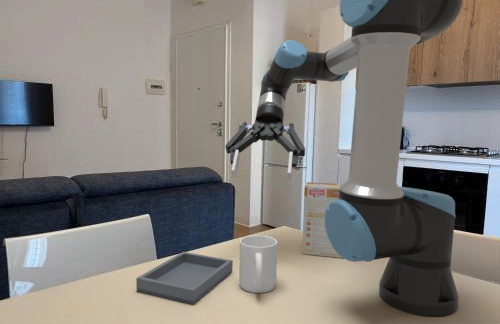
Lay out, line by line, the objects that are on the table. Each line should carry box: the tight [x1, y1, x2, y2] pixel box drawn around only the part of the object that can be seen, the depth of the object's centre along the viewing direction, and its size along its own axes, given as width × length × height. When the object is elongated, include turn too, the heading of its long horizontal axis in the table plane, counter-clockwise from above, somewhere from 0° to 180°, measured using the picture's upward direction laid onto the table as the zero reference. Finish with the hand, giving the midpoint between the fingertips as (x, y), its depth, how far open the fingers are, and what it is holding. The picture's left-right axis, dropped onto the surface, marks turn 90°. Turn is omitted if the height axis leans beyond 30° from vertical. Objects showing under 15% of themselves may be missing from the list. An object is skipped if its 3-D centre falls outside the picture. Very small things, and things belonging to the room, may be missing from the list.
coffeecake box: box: [302, 182, 343, 259], centre depth 105 cm, size 15×7×20 cm, turn 76°
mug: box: [238, 235, 278, 294], centre depth 82 cm, size 12×8×10 cm
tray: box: [135, 251, 234, 306], centre depth 85 cm, size 14×18×3 cm
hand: (261, 175), depth 91 cm, fingers open, 13 cm apart
